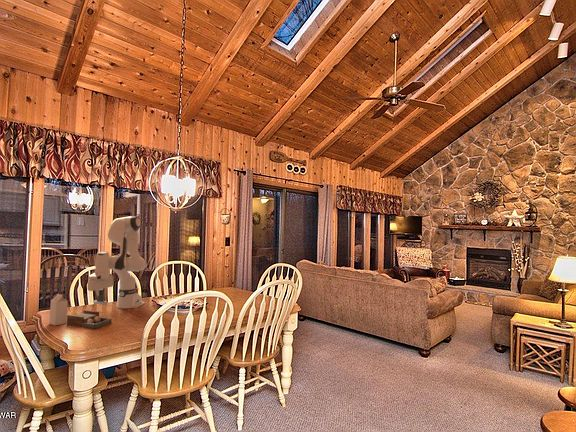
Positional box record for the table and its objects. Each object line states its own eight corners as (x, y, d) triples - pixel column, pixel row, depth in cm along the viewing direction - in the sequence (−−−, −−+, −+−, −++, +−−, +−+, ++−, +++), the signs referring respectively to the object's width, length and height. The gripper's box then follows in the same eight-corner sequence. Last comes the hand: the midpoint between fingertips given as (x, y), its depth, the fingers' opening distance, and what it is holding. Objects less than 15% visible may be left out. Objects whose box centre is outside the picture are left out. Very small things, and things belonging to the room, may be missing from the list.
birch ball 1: (96, 321, 224) (92, 325, 224) (92, 316, 225) (88, 321, 225) (91, 322, 220) (87, 327, 221) (87, 317, 221) (84, 322, 222)
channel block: (84, 319, 236) (84, 310, 236) (98, 321, 233) (99, 311, 233) (66, 325, 223) (67, 315, 223) (81, 327, 220) (82, 317, 220)
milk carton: (61, 321, 230) (62, 292, 231) (66, 323, 227) (68, 294, 227) (49, 323, 224) (50, 294, 225) (54, 325, 221) (56, 296, 221)
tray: (98, 321, 233) (99, 317, 233) (111, 323, 231) (111, 318, 231) (81, 327, 220) (82, 322, 220) (94, 329, 217) (95, 324, 217)
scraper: (92, 303, 240) (93, 289, 240) (96, 302, 243) (96, 288, 243) (104, 305, 238) (105, 290, 238) (107, 304, 240) (108, 289, 241)
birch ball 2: (103, 318, 230) (100, 322, 231) (99, 314, 231) (96, 318, 231) (98, 320, 226) (95, 324, 227) (94, 316, 227) (91, 320, 227)
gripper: (108, 273, 251) (108, 292, 251) (86, 276, 232) (85, 297, 231) (116, 273, 250) (115, 292, 250) (94, 277, 230) (92, 298, 230)
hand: (100, 295), depth 240 cm, fingers closed on scraper, 3 cm apart
